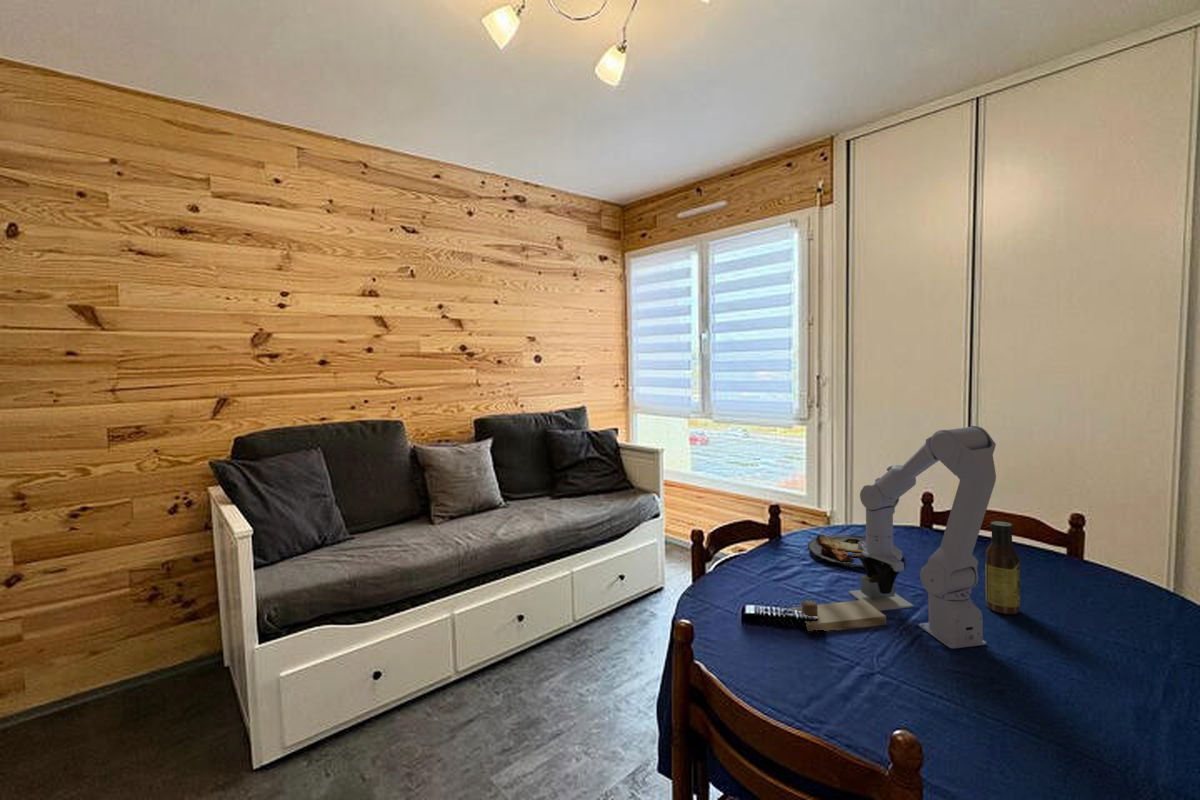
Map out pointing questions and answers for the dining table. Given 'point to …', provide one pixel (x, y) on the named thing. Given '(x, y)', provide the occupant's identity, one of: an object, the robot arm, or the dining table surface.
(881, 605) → the rubber mat
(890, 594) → the grey block
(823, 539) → the food plate
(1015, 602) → the sauce bottle
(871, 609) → the body
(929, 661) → the dining table surface
